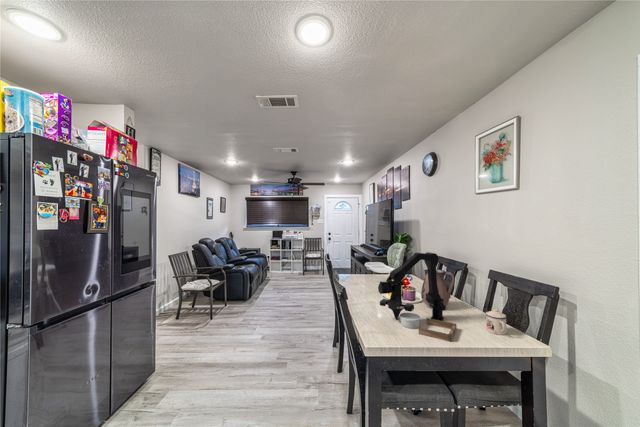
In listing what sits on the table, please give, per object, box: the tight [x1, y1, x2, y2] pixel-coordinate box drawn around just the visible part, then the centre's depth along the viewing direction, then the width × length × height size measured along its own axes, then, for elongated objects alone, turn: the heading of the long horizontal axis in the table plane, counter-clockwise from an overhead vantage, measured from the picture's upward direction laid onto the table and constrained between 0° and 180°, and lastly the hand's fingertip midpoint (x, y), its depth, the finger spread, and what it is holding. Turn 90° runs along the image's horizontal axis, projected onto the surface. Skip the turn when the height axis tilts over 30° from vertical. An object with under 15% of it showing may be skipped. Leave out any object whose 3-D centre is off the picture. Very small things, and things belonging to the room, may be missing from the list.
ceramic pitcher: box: [420, 268, 456, 309], centre depth 174 cm, size 18×21×25 cm
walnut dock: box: [418, 317, 458, 343], centre depth 135 cm, size 17×15×3 cm
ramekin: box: [399, 312, 421, 329], centre depth 144 cm, size 11×11×5 cm
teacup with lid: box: [485, 308, 507, 336], centre depth 133 cm, size 12×9×12 cm
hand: (396, 319), depth 148 cm, fingers closed
